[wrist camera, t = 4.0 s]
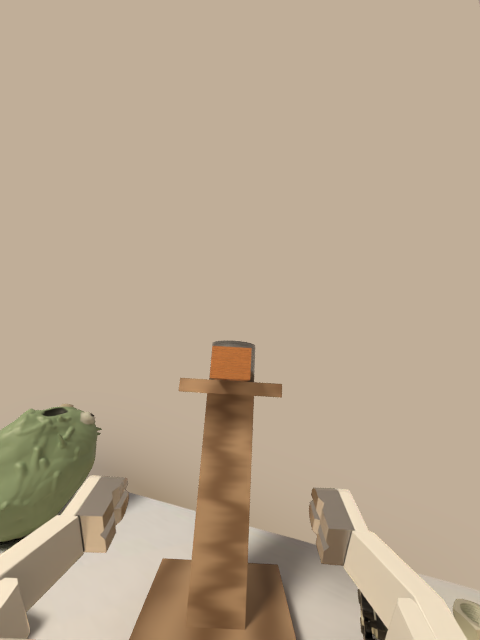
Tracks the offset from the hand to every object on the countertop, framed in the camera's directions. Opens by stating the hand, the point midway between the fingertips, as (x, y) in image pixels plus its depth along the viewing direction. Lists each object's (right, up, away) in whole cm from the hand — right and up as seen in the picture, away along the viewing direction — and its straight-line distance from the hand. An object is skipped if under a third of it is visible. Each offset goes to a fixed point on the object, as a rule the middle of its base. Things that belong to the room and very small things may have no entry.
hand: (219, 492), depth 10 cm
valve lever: (0, +1, +16) cm, 16 cm away
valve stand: (-2, -26, +15) cm, 30 cm away
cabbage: (-36, -28, +27) cm, 53 cm away
